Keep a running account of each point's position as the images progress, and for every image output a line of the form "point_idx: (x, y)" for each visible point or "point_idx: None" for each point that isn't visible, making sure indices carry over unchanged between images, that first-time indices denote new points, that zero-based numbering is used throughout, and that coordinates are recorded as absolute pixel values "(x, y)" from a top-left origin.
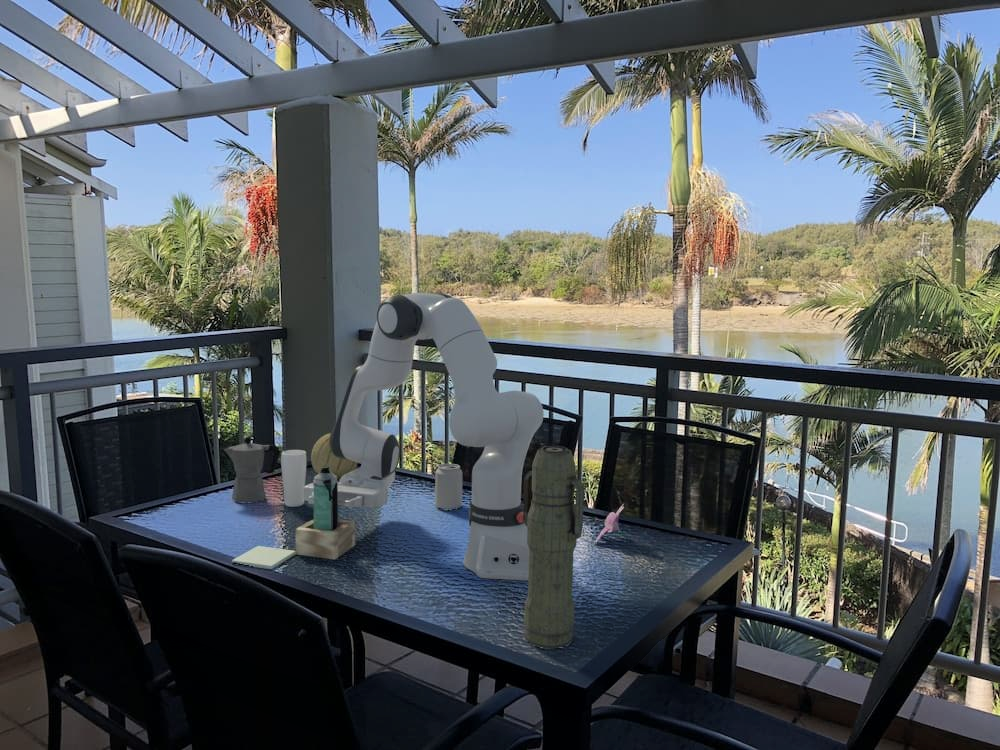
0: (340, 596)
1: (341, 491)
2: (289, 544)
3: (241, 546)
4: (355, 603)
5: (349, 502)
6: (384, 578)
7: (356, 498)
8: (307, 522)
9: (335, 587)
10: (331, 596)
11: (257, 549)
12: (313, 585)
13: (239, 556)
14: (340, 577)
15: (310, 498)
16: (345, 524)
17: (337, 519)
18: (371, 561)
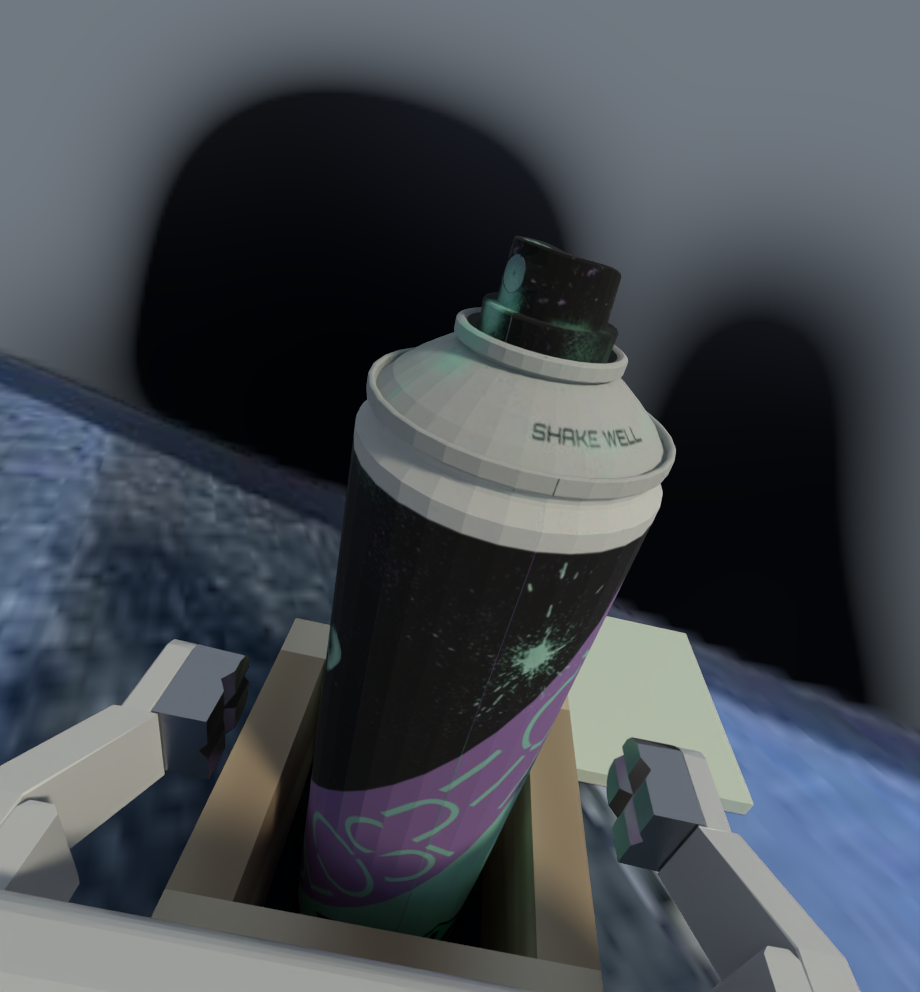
0: (222, 466)
1: (354, 960)
2: (664, 947)
3: (850, 843)
4: (175, 440)
5: (181, 642)
6: (32, 552)
7: (61, 741)
8: (581, 822)
9: (244, 504)
10: (250, 467)
11: (708, 751)
12: (321, 515)
13: (696, 666)
14: (234, 559)
15: (671, 747)
16: (236, 824)
17: (314, 762)
18: (54, 721)
